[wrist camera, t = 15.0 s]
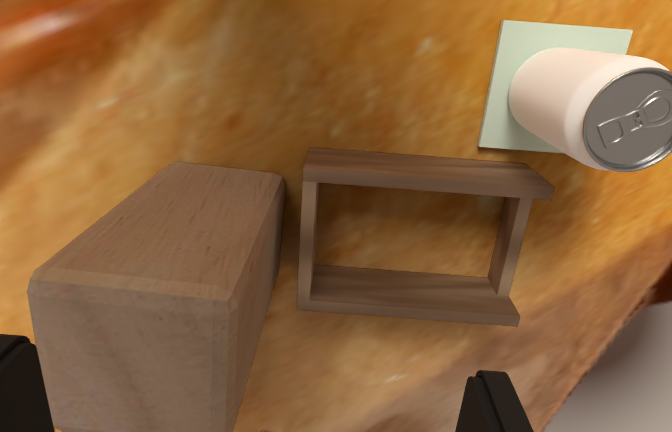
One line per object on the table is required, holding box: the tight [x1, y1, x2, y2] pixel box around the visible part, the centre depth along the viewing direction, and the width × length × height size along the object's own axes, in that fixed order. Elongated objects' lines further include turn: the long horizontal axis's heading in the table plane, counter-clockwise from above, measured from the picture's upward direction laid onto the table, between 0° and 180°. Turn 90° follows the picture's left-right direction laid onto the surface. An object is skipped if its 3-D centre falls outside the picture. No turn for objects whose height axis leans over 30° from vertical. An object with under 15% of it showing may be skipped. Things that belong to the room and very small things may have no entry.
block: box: [27, 162, 285, 432], centre depth 32 cm, size 10×10×20 cm
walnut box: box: [297, 147, 555, 327], centre depth 39 cm, size 12×18×6 cm, turn 86°
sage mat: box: [478, 20, 633, 153], centre depth 36 cm, size 10×10×1 cm
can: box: [509, 47, 672, 172], centre depth 31 cm, size 6×6×12 cm
